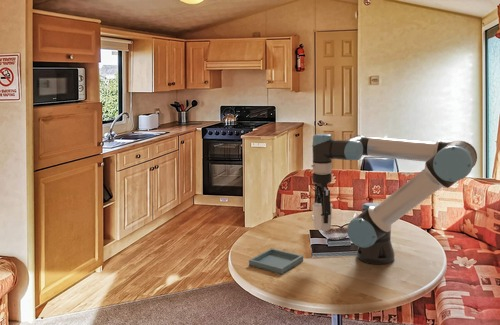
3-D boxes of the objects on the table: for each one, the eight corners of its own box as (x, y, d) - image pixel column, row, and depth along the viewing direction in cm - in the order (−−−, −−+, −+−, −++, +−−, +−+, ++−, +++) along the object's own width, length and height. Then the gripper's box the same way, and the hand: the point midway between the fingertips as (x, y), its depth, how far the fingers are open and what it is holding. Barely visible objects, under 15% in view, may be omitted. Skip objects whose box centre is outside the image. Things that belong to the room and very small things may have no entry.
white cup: (331, 231, 190) (331, 207, 188) (312, 230, 191) (311, 206, 190) (332, 225, 197) (332, 201, 196) (313, 224, 199) (313, 201, 197)
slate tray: (303, 261, 197) (303, 255, 196) (281, 274, 184) (281, 268, 184) (271, 253, 206) (271, 248, 206) (249, 265, 194) (248, 260, 193)
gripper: (306, 168, 200) (307, 220, 204) (320, 178, 180) (320, 236, 184) (323, 167, 201) (323, 219, 205) (339, 177, 181) (339, 234, 185)
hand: (322, 227), depth 194 cm, fingers closed on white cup, 8 cm apart
